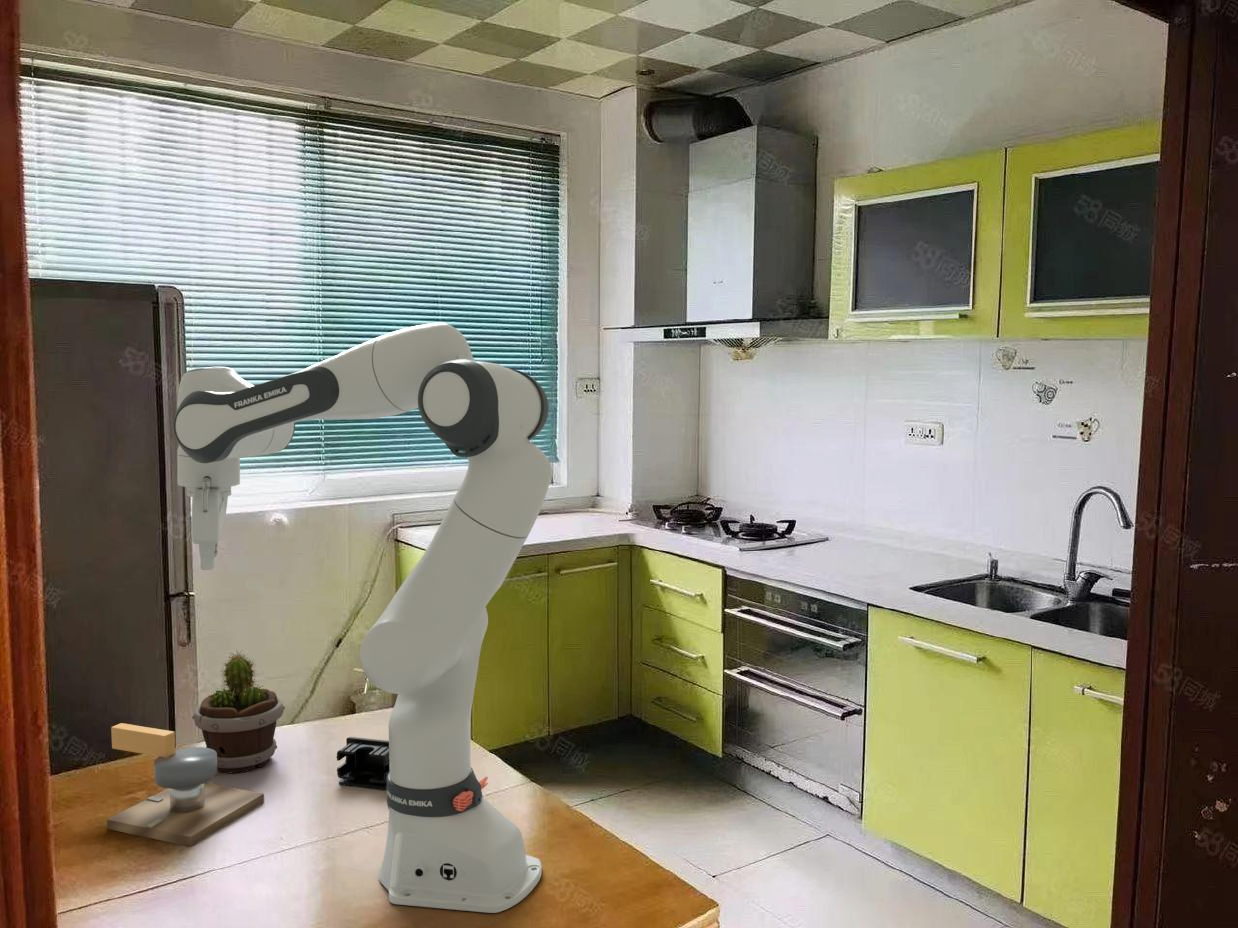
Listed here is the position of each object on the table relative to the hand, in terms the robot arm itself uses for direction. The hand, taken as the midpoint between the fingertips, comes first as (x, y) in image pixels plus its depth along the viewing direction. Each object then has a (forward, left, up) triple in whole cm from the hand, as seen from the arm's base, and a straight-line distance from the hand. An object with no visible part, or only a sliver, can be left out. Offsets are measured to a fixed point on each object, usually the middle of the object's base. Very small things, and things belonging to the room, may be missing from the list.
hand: (209, 562), depth 153 cm
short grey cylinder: (+4, +2, -39) cm, 39 cm away
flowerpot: (+11, -18, -40) cm, 46 cm away
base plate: (+4, +2, -40) cm, 40 cm away
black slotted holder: (-15, -20, -41) cm, 48 cm away
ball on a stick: (+9, +2, -34) cm, 35 cm away
